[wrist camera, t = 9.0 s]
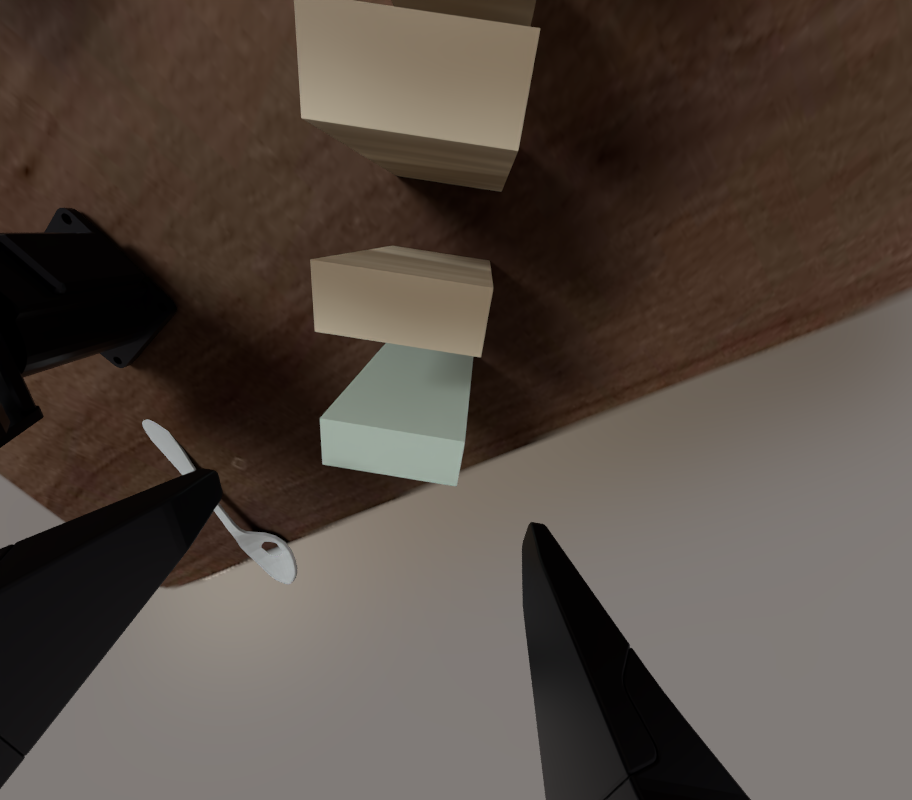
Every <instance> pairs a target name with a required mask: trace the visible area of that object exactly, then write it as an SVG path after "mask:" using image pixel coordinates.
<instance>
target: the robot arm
mask: <svg viewBox="0 0 912 800" xmlns="http://www.w3.org/2000/svg"><path fill="white" fill-rule="evenodd" d="M164 305H165V306H166V308H165V307H164ZM176 311H177V308H176V305H175V303H174V302H173V300H171V299H170V298H169V297H168V296H167V295H166V294H165V293H164V292H163V291H162V290H161V289H160V288H159V287H158V286H157V285H156V284H155V283H153V282H152V281H151V280H150V279H149V278H148V277H147V276H146V275H145V274H144V273H143V272H142V271H141V270H140V269H139V268H138V267H137V266H135V265H134V264H133V263H132V262H131V261H130V260H129V259H128V258H127V257H126V256H125V255H124V254H123V253H122V252H121V251H120V250H118V249H117V248H116V247H115V246H114V245H113V244H112V243H111V242H110V241H109V240H108V239H107V238H106V237H105V236H104V235H103V234H102V233H100V232H99V231H98V230H97V229H96V228H95V227H94V226H93V225H92V224H91V223H90V222H89V221H88V220H87V219H86V218H85V217H83V216H82V215H81V214H80V213H79V212H78V211H77V210H75V209H72V208H59V209H58V210H57V211H56V213H55V215H54V216H53V218H52V220H51V222H50V223H49V225H48V227H47V229H46V231H45V232H44V233H0V448H1V447H2V446H3V445H5V444H6V443H8V442H9V441H11V440H12V439H13V438H15V437H16V436H18V435H19V434H20V433H22V432H23V431H25V430H26V429H27V428H29V427H30V426H32V425H33V424H34V423H36V422H37V421H39V420H40V419H42V418H43V417H44V416H43V414H42V411H41V409H40V407H39V406H36V405H35V403H34V401H33V398H32V396H31V394H30V392H29V390H28V387H27V385H26V383H25V381H24V379H23V377H26V376H29V375H32V374H35V373H39V372H42V371H45V370H48V369H51V368H54V367H57V366H61V365H64V364H67V363H70V362H73V361H76V360H79V359H82V358H86V357H89V356H92V355H95V354H98V353H100V354H101V355H103V356H104V357H105V358H106V359H107V360H109V361H110V362H111V363H112V364H114V365H115V366H117V367H119V368H124V367H127V366H129V365H131V364H132V363H133V362H134V360H135V359H136V358H137V357H138V356H139V355H140V353H141V352H142V351H143V350H144V349H145V348H146V346H147V345H148V344H149V343H150V342H151V341H152V339H153V338H154V337H155V336H156V335H157V334H158V332H159V331H160V330H161V329H162V328H163V327H164V325H165V324H166V323H167V322H168V321H169V320H170V319H171V317H172V316H173V315H174V314H175V313H176ZM221 498H222V487H221V483H220V479H219V475H218V473H217V472H216V471H215V470H210V469H203V468H201V469H197V470H195V471H192V472H190V473H187V474H185V475H182V476H180V477H177V478H175V479H172V480H170V481H167V482H165V483H162V484H160V485H157V486H155V487H152V488H150V489H147V490H145V491H143V492H140V493H138V494H135V495H133V496H130V497H128V498H125V499H123V500H120V501H118V502H115V503H113V504H110V505H108V506H105V507H103V508H100V509H98V510H95V511H93V512H91V513H88V514H86V515H83V516H81V517H78V518H76V519H73V520H71V521H68V522H66V523H63V524H61V525H59V526H56V527H53V528H51V529H48V530H46V531H44V532H41V533H38V534H36V535H34V536H31V537H29V538H26V539H24V540H21V541H19V542H17V543H15V545H9V546H7V547H4V548H2V549H0V789H1V787H2V786H3V785H4V783H5V782H6V781H7V780H8V779H9V777H10V776H11V775H12V773H13V772H14V771H15V770H16V768H17V767H18V766H19V764H20V763H21V762H22V761H23V759H24V758H25V755H27V753H29V751H30V750H31V749H32V748H33V746H34V745H35V744H36V743H37V741H38V740H39V739H40V737H41V736H42V735H43V734H44V732H45V731H46V730H47V729H48V727H49V726H50V725H51V723H52V722H53V721H54V720H55V718H56V717H57V716H58V715H59V713H60V712H61V711H62V709H63V708H64V707H65V706H66V704H67V703H68V702H69V700H70V699H71V698H72V697H73V696H74V694H75V693H76V692H77V690H78V689H79V688H80V687H81V685H82V684H83V683H84V682H85V680H86V679H87V678H88V677H89V675H90V674H91V673H92V671H93V670H94V669H95V668H96V666H97V665H98V663H100V661H101V660H102V659H103V657H104V656H105V655H106V654H107V652H108V651H109V650H110V648H111V647H112V646H113V645H114V643H115V642H116V641H117V640H118V638H119V637H120V636H121V635H122V633H123V632H124V631H125V629H126V628H127V627H128V626H129V624H130V623H131V622H132V621H133V619H134V618H135V617H136V615H137V614H138V613H139V612H140V610H141V609H142V608H143V607H144V605H145V604H146V603H147V602H148V600H149V599H150V598H151V596H152V595H153V594H154V592H155V591H156V590H157V589H158V588H159V586H160V585H161V584H162V583H163V581H164V580H165V579H166V577H167V576H168V575H169V574H170V572H171V571H172V570H173V569H174V567H175V566H176V565H177V563H178V562H179V561H180V560H181V558H182V557H183V556H184V554H185V553H186V552H187V550H188V549H189V548H190V546H191V545H192V543H193V542H194V540H195V539H196V537H197V536H198V534H199V533H200V531H201V529H202V528H203V526H204V525H205V523H206V522H207V520H208V519H209V517H210V516H211V514H212V513H213V511H214V509H215V508H216V506H217V505H218V503H219V502H220V500H221ZM522 580H523V581H522V585H523V586H522V587H523V611H524V620H525V629H526V638H527V646H528V654H529V663H530V671H531V679H532V687H533V696H534V705H535V713H536V721H537V729H538V738H539V746H540V755H541V763H542V771H543V779H544V787H545V796H546V800H751V799H750V798H749V797H748V796H747V795H746V793H745V792H744V791H743V790H742V788H741V787H740V786H739V785H738V783H737V782H736V781H735V780H734V779H733V777H732V776H731V775H730V774H729V772H728V771H727V770H726V769H725V767H724V766H723V765H722V764H721V763H720V762H719V760H718V759H717V758H716V757H715V755H714V754H713V753H712V752H711V750H710V749H709V748H708V747H707V746H706V744H705V743H704V742H703V740H702V739H701V738H700V737H699V735H698V734H697V733H696V732H695V731H694V729H693V728H692V727H691V726H690V724H689V723H688V722H687V721H686V719H685V718H684V717H683V716H682V715H681V713H680V712H679V711H678V709H677V708H676V707H675V705H674V704H673V703H672V702H671V700H670V699H669V698H668V697H667V695H666V694H665V693H664V691H663V690H662V689H661V687H660V686H659V685H658V683H657V682H656V681H655V679H654V678H653V677H652V675H651V674H650V672H649V671H648V670H647V668H646V667H645V666H644V664H643V663H642V661H641V660H640V659H639V657H638V656H637V654H636V653H635V651H634V650H633V649H632V648H630V645H629V643H628V642H627V640H626V639H625V637H624V636H623V635H622V633H621V632H620V631H619V629H618V627H617V626H616V625H615V623H614V622H613V620H612V619H611V618H610V616H609V615H608V613H607V612H606V610H605V609H604V608H603V606H602V605H601V603H600V602H599V600H598V599H597V598H596V597H595V595H594V593H593V592H592V591H591V589H590V588H589V586H588V585H587V583H586V582H585V581H584V579H583V578H582V576H581V575H580V574H579V572H578V571H577V569H576V568H575V566H574V565H573V564H572V562H571V561H570V559H569V558H568V557H567V555H566V554H565V552H564V551H563V550H562V548H561V547H560V545H559V544H558V542H557V541H556V539H555V538H554V537H553V535H552V534H551V532H550V531H549V530H548V528H547V527H546V526H545V525H544V524H540V523H534V522H531V523H530V524H529V526H528V528H527V532H526V534H525V538H524V540H523V545H522Z"/></svg>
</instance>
